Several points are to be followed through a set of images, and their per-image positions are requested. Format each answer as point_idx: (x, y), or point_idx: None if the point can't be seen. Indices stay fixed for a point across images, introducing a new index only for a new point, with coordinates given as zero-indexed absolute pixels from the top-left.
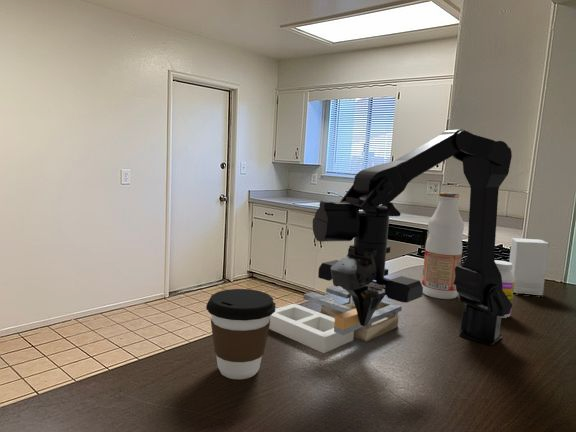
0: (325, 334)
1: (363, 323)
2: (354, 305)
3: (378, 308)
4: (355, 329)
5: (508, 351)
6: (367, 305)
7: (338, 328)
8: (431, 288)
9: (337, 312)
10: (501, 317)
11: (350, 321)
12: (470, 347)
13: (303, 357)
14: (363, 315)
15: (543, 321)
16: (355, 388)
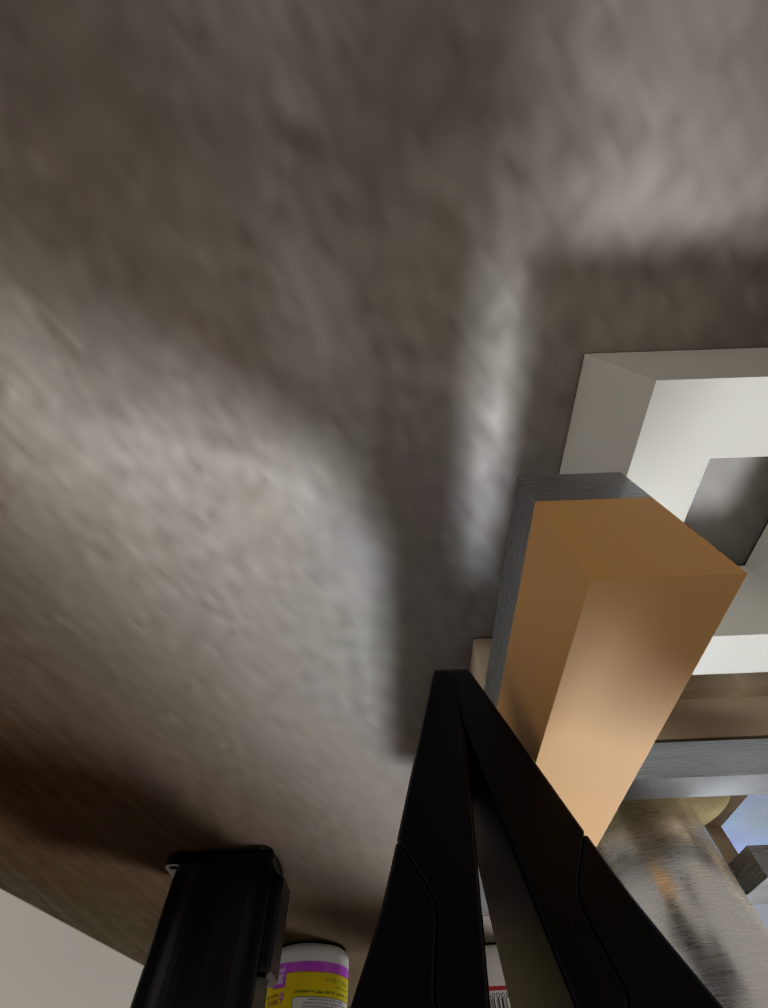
0: (675, 431)
1: (438, 686)
2: (670, 825)
3: None
4: (495, 622)
5: (120, 856)
6: (404, 956)
7: (594, 497)
8: (503, 985)
9: (733, 727)
10: (282, 950)
11: (538, 633)
12: (194, 820)
13: (688, 150)
14: (451, 762)
15: None
16: (80, 63)
